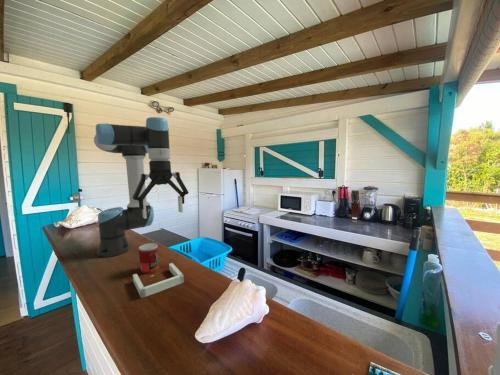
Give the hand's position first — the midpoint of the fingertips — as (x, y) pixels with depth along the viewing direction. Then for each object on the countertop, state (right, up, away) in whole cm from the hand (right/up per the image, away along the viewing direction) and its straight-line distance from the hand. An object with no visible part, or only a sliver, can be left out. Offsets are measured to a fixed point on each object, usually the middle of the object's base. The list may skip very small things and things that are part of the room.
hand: (163, 214), depth 85 cm
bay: (-3, -28, +3) cm, 28 cm away
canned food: (-11, -27, +13) cm, 32 cm away
